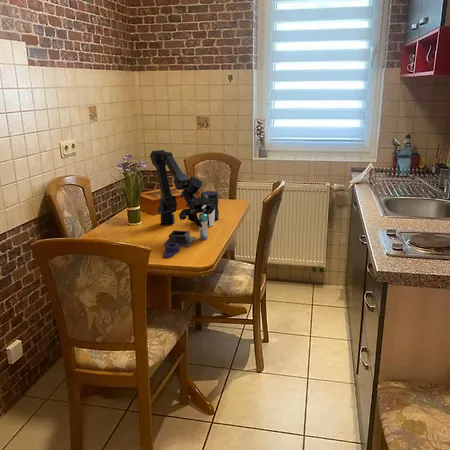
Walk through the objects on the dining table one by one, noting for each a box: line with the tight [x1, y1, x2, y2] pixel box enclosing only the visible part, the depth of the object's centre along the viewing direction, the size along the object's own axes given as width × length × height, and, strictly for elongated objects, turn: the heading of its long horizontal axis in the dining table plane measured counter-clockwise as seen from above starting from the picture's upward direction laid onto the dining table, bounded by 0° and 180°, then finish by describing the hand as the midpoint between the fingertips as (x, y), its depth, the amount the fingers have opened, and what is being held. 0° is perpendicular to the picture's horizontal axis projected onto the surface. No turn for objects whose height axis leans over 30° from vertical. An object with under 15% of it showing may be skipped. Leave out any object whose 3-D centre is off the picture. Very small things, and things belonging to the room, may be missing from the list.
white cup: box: [199, 205, 215, 227], centre depth 243 cm, size 8×8×10 cm
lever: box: [162, 243, 180, 259], centre depth 202 cm, size 12×6×3 cm, turn 169°
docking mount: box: [163, 229, 196, 248], centre depth 217 cm, size 12×12×4 cm
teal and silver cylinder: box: [198, 213, 209, 241], centre depth 220 cm, size 4×4×12 cm
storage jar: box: [200, 190, 220, 223], centre depth 252 cm, size 10×10×15 cm
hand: (205, 226), depth 219 cm, fingers closed on teal and silver cylinder, 4 cm apart
